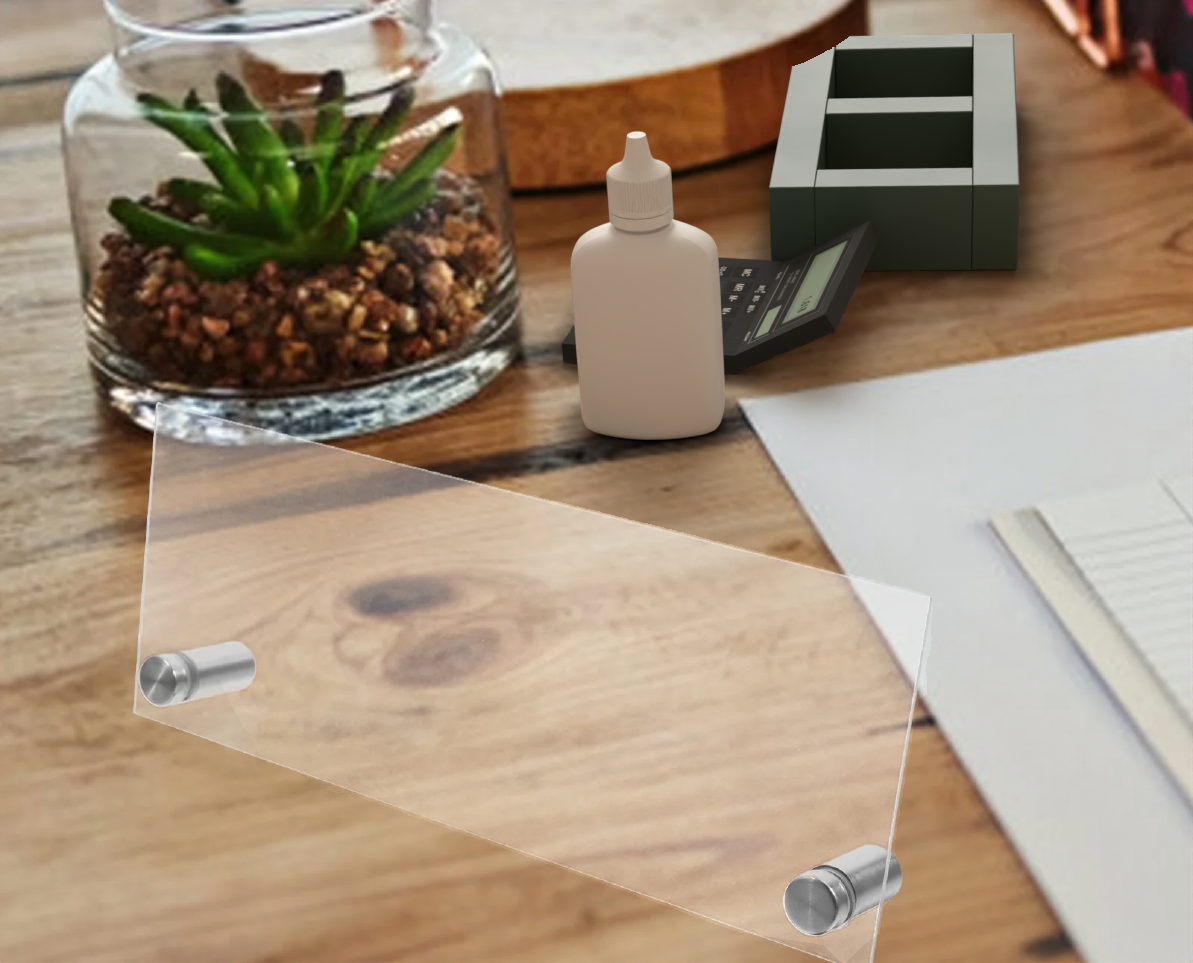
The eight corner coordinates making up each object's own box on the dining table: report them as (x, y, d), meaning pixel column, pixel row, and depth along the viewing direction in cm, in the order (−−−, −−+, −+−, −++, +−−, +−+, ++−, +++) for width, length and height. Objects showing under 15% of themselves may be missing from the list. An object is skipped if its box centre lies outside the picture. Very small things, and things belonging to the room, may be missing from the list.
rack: (1011, 108, 119) (1013, 32, 117) (1017, 270, 102) (1019, 184, 100) (799, 112, 120) (797, 36, 118) (771, 271, 104) (768, 187, 102)
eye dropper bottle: (631, 383, 96) (611, 103, 89) (743, 416, 93) (732, 128, 86) (565, 427, 93) (540, 141, 86) (679, 462, 90) (662, 168, 83)
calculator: (624, 269, 105) (620, 207, 104) (880, 284, 102) (879, 221, 100) (563, 361, 98) (557, 296, 96) (836, 381, 95) (835, 314, 93)
